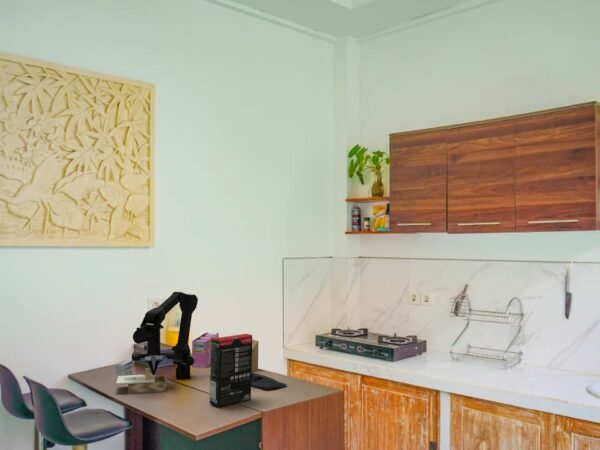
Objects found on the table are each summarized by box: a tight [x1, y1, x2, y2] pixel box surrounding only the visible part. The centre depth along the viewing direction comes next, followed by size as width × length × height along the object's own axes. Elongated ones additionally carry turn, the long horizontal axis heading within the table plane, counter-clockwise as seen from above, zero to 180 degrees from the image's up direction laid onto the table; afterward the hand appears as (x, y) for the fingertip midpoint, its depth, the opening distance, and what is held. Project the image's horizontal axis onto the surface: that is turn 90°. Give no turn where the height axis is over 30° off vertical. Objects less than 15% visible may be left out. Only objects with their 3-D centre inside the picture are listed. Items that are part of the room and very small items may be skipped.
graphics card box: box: [209, 333, 253, 408], centre depth 240 cm, size 17×7×27 cm, turn 133°
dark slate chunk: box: [251, 372, 288, 391], centre depth 268 cm, size 15×22×5 cm
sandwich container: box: [252, 339, 260, 373], centre depth 289 cm, size 9×15×15 cm, turn 142°
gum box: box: [191, 332, 220, 369], centre depth 309 cm, size 24×8×14 cm, turn 171°
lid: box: [115, 367, 156, 386], centre depth 258 cm, size 16×12×4 cm
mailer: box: [127, 375, 167, 395], centre depth 259 cm, size 16×12×4 cm
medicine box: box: [115, 359, 134, 383], centre depth 272 cm, size 8×4×9 cm, turn 168°
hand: (153, 374), depth 260 cm, fingers closed
